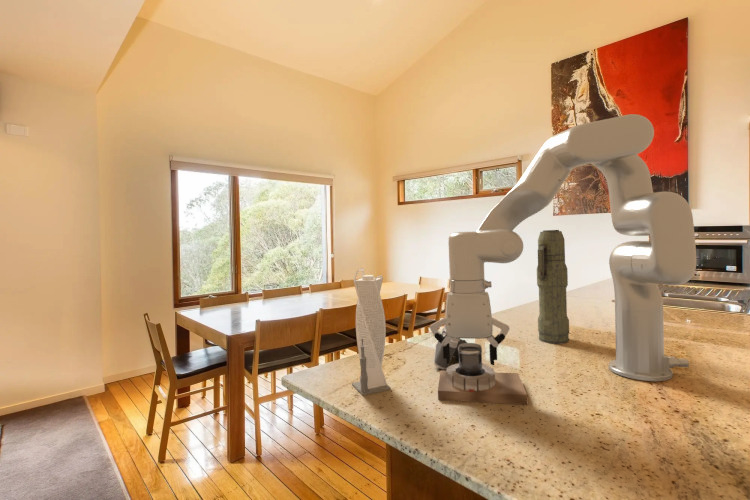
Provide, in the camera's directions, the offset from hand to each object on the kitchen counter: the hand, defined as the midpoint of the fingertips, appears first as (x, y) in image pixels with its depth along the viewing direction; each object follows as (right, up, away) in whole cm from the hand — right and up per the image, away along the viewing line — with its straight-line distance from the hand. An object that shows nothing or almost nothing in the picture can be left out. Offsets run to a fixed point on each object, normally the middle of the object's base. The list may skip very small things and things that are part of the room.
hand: (469, 362), depth 85 cm
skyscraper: (-22, -7, +5) cm, 24 cm away
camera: (0, -6, +20) cm, 21 cm away
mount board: (+2, -6, 0) cm, 7 cm away
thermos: (+36, -3, +35) cm, 50 cm away
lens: (0, -4, 0) cm, 4 cm away
